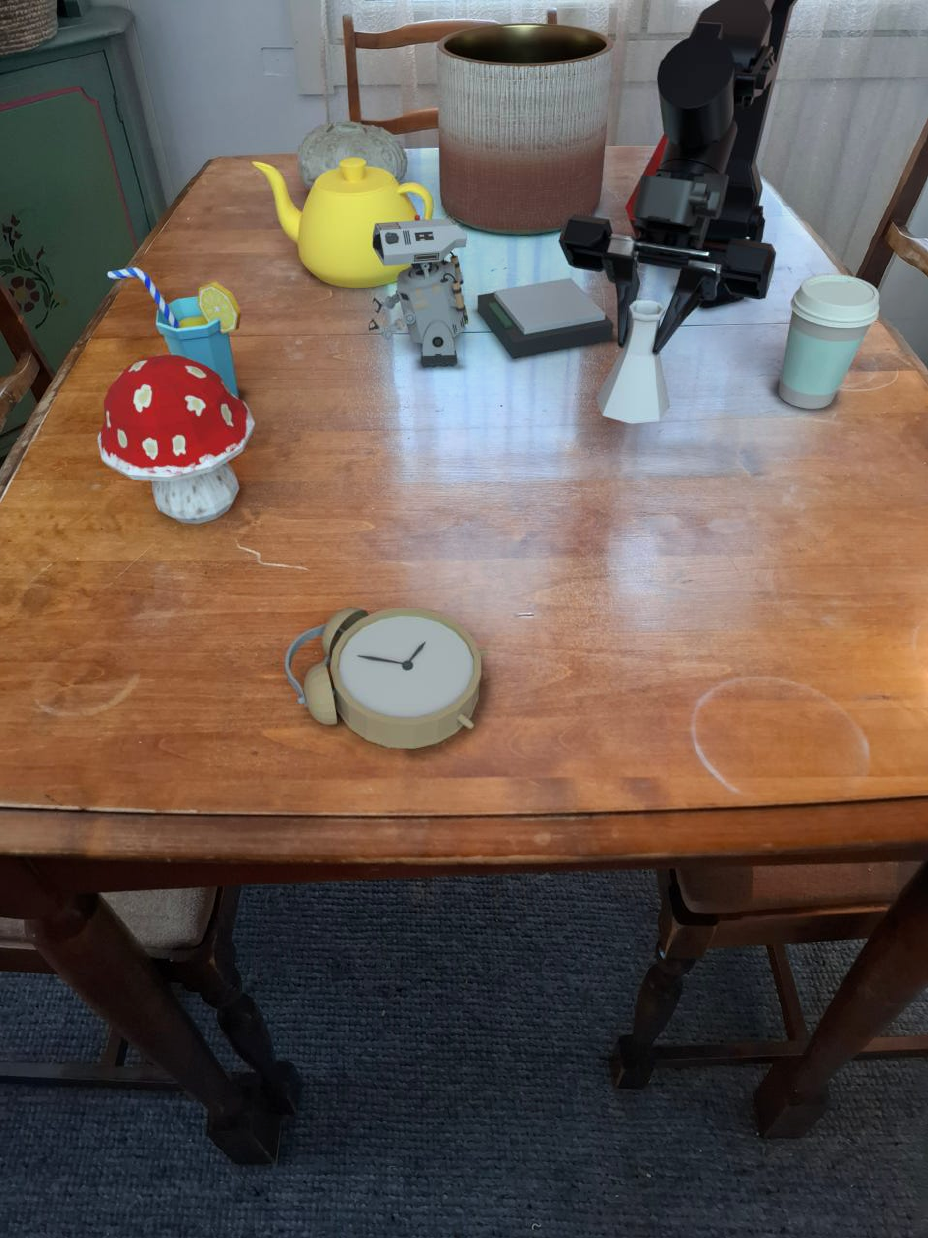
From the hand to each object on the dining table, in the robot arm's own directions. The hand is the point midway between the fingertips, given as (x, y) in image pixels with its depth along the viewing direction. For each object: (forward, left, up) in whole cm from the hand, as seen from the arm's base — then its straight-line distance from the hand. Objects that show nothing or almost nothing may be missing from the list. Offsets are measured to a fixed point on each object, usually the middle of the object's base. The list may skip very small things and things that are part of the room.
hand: (637, 349), depth 73 cm
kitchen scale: (-6, -29, -12) cm, 32 cm away
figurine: (+10, -30, -12) cm, 34 cm away
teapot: (+10, -56, -12) cm, 59 cm away
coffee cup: (-25, -2, -12) cm, 28 cm away
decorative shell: (+1, -83, -12) cm, 84 cm away
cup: (+36, -29, -12) cm, 48 cm away
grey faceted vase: (-1, -1, -7) cm, 7 cm away
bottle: (-33, -40, -12) cm, 53 cm away
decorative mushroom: (+41, -11, -12) cm, 44 cm away
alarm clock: (+32, +18, -12) cm, 39 cm away
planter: (-21, -65, -12) cm, 69 cm away
